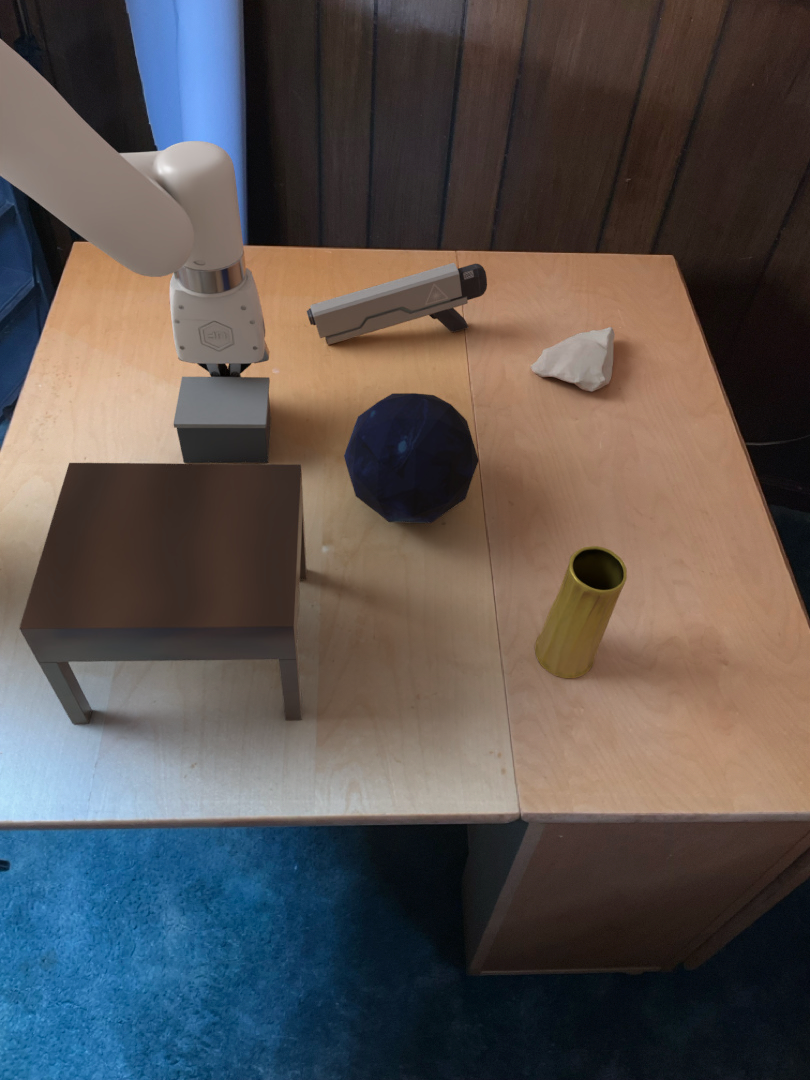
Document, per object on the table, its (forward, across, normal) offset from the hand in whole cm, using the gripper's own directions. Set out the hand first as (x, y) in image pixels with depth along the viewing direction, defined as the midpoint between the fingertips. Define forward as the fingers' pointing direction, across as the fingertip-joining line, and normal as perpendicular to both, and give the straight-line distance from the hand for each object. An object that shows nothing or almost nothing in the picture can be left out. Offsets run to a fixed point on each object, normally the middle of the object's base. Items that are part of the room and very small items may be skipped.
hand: (230, 396), depth 101 cm
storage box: (+2, 0, -6) cm, 6 cm away
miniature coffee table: (+2, -1, -35) cm, 35 cm away
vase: (+2, +36, -37) cm, 52 cm away
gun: (+3, +22, +16) cm, 27 cm away
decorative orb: (+2, +22, -16) cm, 27 cm away
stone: (+3, +48, +10) cm, 49 cm away
